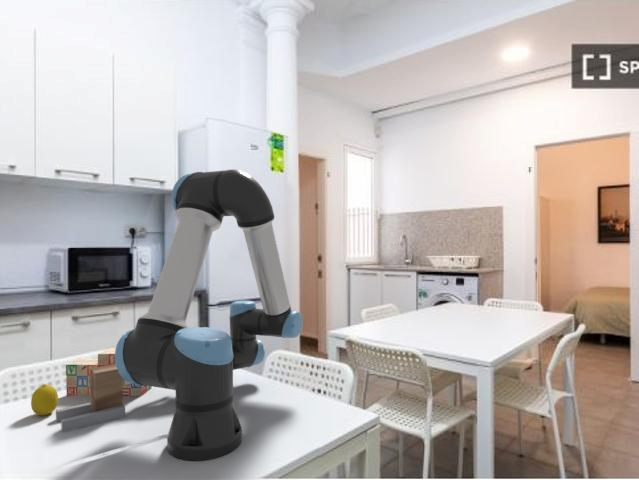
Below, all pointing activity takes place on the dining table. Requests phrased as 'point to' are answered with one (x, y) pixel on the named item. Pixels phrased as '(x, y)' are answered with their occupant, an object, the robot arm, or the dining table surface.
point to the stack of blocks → (81, 375)
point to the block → (105, 388)
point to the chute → (86, 416)
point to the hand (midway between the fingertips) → (123, 378)
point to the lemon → (44, 400)
